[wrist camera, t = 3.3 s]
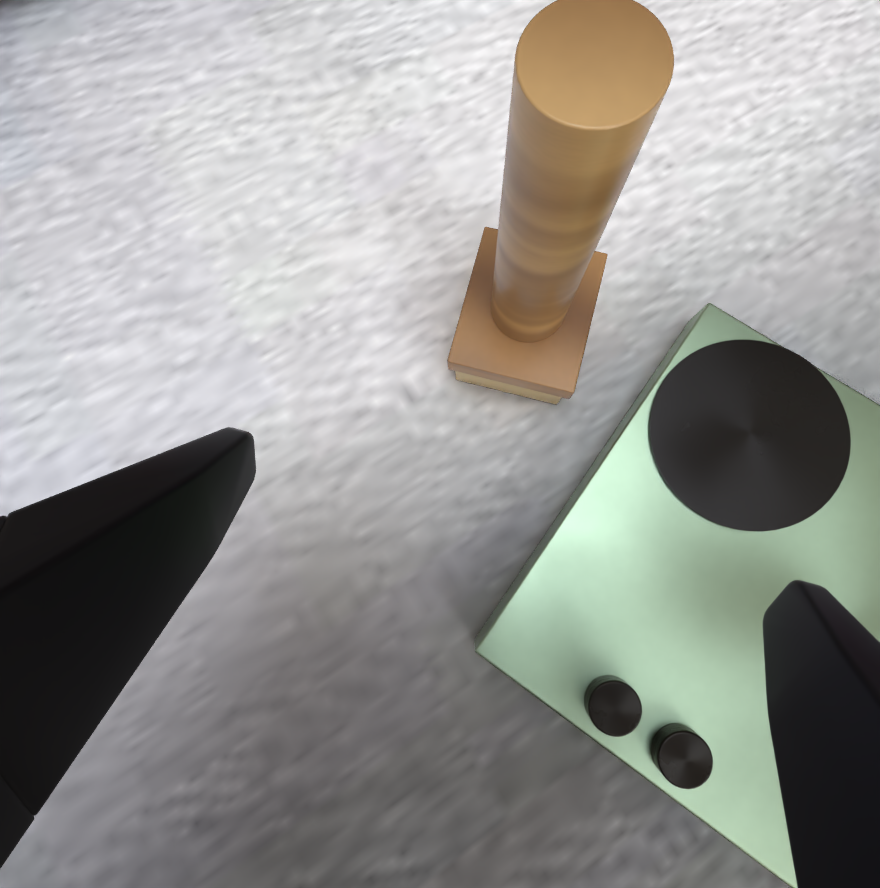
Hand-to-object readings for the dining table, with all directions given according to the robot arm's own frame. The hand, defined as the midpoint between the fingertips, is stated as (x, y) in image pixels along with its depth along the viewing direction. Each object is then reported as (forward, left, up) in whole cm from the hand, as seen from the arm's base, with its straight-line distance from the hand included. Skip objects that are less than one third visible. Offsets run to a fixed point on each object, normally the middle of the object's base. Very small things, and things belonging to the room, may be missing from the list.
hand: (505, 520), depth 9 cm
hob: (+4, -12, -13) cm, 19 cm away
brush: (+8, +3, -13) cm, 16 cm away
